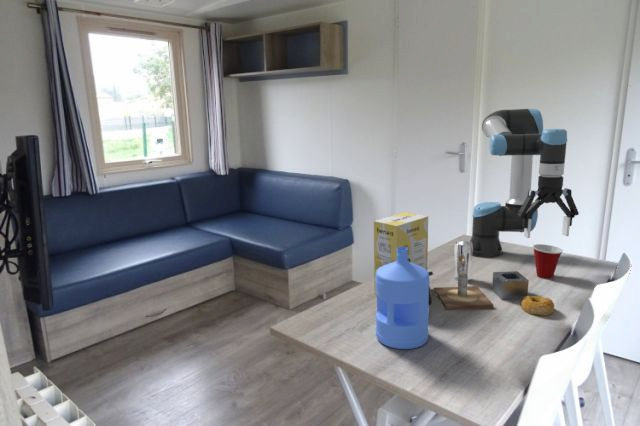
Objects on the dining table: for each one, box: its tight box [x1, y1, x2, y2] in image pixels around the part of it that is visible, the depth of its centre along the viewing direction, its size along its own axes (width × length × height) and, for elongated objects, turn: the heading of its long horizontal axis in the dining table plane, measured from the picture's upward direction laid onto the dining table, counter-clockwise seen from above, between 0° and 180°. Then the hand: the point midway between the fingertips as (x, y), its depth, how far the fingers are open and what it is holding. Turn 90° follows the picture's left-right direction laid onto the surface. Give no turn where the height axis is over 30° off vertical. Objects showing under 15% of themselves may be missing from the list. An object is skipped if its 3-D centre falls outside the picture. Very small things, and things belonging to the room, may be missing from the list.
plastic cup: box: [532, 243, 564, 280], centre depth 175 cm, size 11×11×12 cm
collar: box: [491, 270, 530, 301], centre depth 160 cm, size 9×9×7 cm
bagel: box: [520, 295, 555, 317], centre depth 148 cm, size 10×11×5 cm
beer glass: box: [453, 240, 474, 282], centre depth 175 cm, size 7×7×15 cm
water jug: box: [375, 247, 430, 350], centre depth 131 cm, size 16×16×28 cm
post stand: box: [433, 272, 494, 311], centre depth 157 cm, size 16×16×10 cm
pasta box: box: [373, 211, 429, 295], centre depth 165 cm, size 18×10×28 cm, turn 131°
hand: (546, 236), depth 155 cm, fingers open, 13 cm apart
